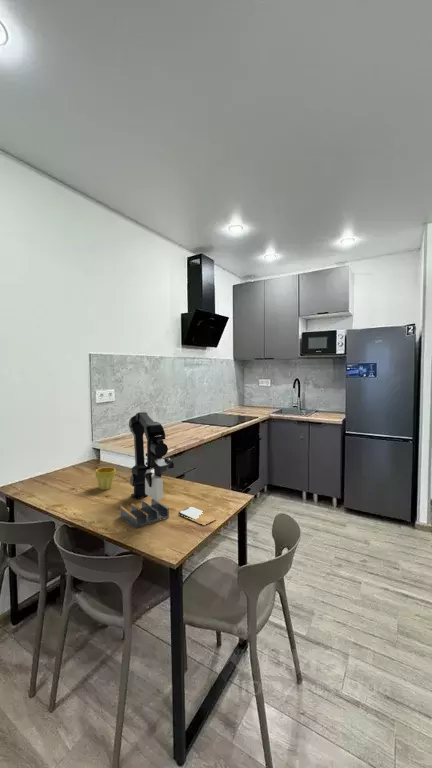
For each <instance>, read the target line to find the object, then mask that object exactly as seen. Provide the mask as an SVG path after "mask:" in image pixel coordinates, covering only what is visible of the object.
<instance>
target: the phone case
mask: <svg viewBox="0 0 432 768" xmlns="http://www.w3.org/2000/svg"><path fill="white" fill-rule="evenodd" d="M203 511H204V510H201V509H199V508H197V507H196V506H195V507H194V506H188V507H186V508H184V509H182V510H180V511H178V515H179V514H180V515H183V516H185V517H188V518H191V519H194V520H196V519H197V518H199V515H201V514H203V513H202V512H203ZM180 515H179V516H180Z"/></svg>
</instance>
